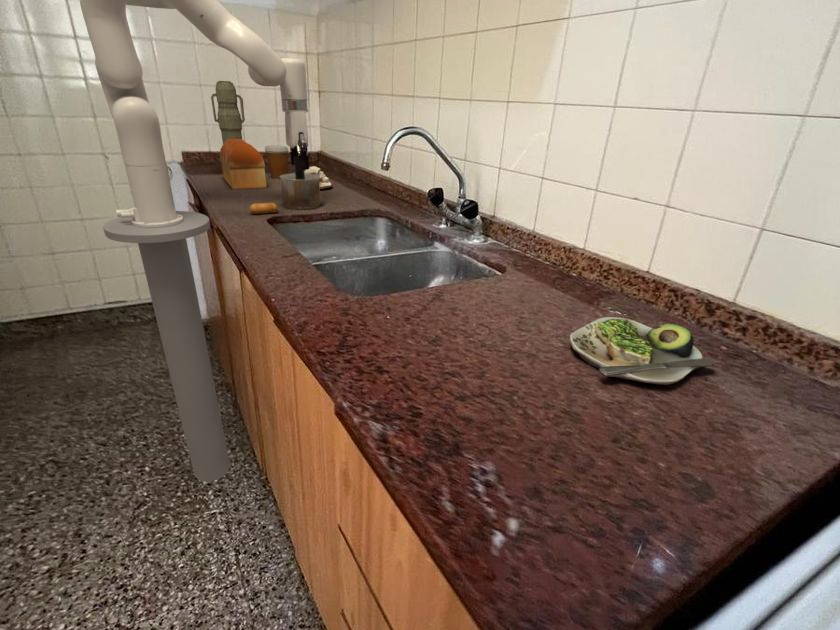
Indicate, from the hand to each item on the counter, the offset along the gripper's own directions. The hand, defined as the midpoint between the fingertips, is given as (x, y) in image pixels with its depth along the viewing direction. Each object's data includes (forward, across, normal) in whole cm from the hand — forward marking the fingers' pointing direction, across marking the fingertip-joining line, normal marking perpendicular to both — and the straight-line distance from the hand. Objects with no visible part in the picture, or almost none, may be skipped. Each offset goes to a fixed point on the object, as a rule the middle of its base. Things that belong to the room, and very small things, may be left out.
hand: (300, 166), depth 140 cm
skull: (+12, -27, +12) cm, 32 cm away
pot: (+12, 0, 0) cm, 12 cm away
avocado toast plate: (+12, +110, +24) cm, 113 cm away
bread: (+12, -44, -12) cm, 47 cm away
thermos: (+12, -67, -12) cm, 69 cm away
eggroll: (+12, +8, -13) cm, 19 cm away
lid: (+3, 0, 0) cm, 3 cm away
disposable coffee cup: (+12, -53, +3) cm, 54 cm away
